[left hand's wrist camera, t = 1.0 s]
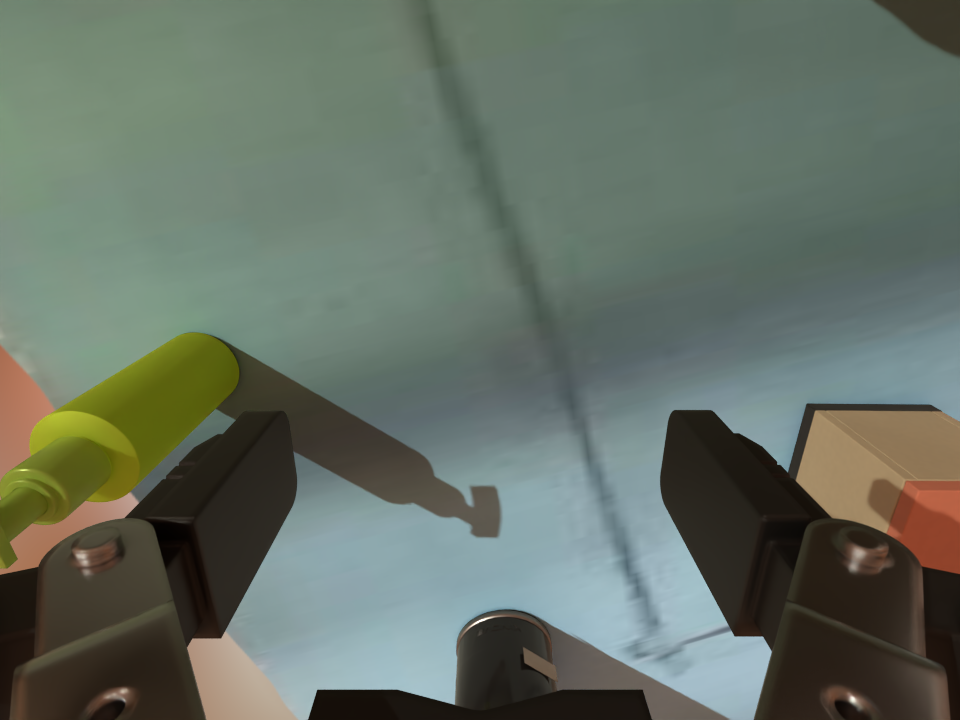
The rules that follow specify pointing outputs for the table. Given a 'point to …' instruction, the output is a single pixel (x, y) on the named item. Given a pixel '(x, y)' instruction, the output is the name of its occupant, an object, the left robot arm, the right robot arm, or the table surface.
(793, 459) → the chest
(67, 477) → the soap dispenser
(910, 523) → the lid
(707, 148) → the table surface
